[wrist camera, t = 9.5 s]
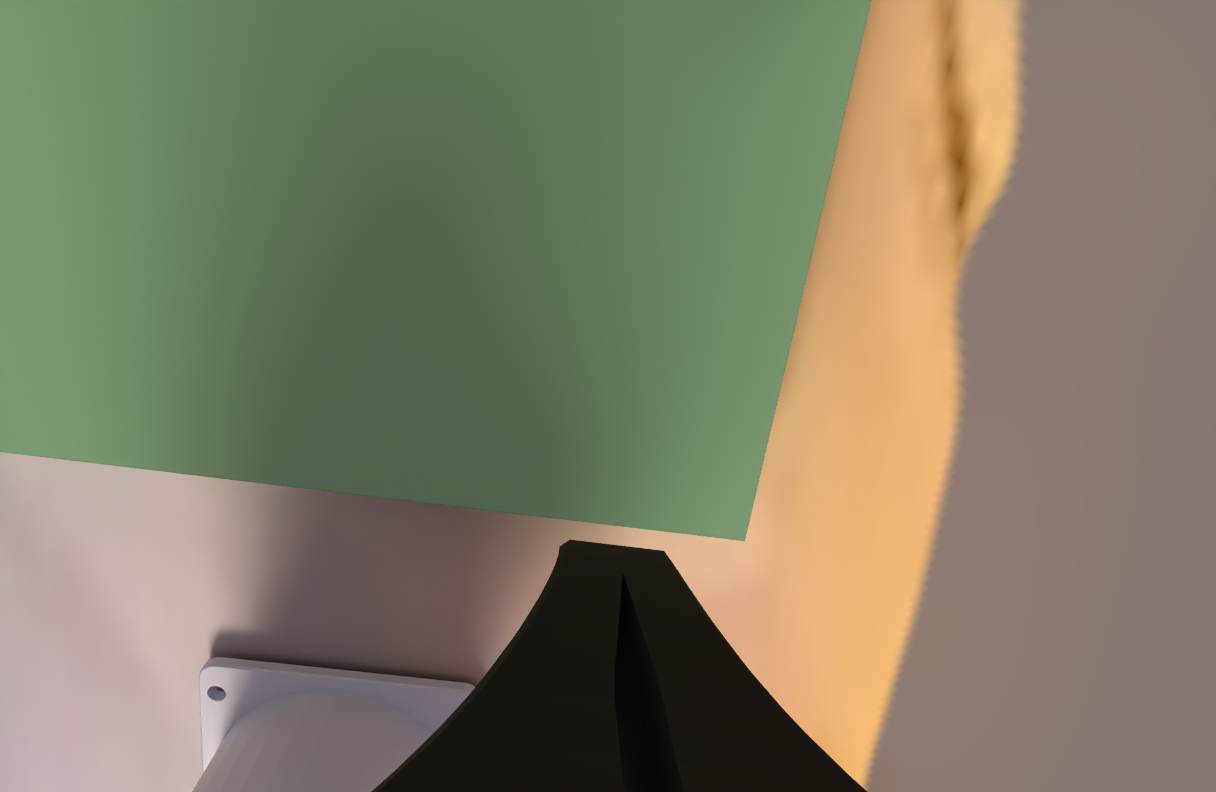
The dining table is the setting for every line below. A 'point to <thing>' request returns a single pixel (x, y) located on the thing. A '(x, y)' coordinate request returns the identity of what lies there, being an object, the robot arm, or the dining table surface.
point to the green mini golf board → (417, 243)
